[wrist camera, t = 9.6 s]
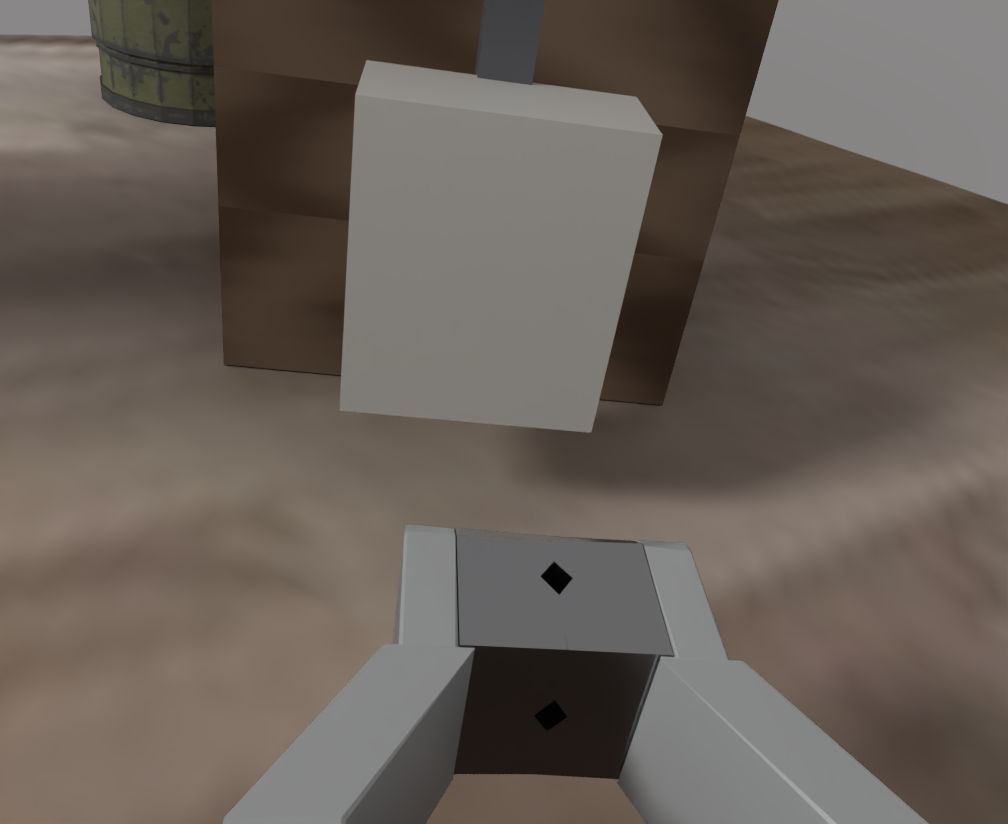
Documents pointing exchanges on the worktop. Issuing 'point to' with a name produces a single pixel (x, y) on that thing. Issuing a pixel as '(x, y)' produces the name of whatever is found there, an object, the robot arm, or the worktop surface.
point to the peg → (489, 235)
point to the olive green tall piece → (157, 58)
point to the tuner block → (453, 47)
